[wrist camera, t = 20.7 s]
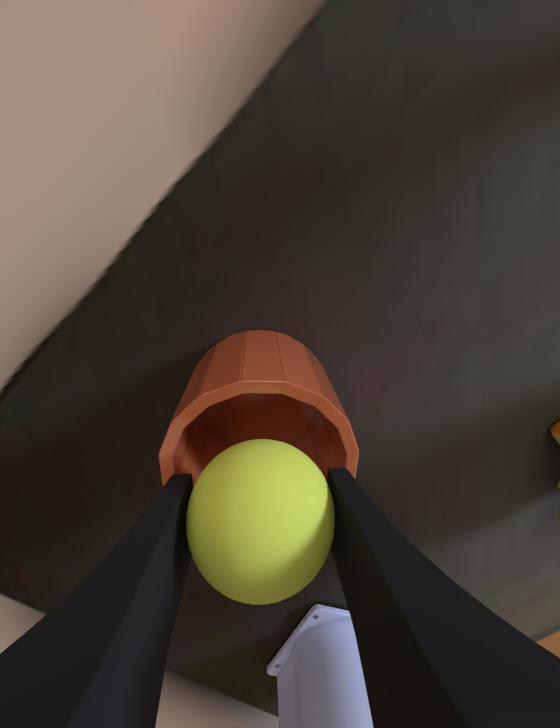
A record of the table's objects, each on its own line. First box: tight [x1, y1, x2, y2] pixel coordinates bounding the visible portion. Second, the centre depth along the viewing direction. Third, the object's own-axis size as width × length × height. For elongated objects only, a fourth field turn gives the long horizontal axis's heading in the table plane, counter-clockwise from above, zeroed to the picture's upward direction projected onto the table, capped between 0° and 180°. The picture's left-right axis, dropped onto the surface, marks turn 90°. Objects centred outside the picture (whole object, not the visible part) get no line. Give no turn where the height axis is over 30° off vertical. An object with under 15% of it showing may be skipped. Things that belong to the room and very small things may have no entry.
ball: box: [186, 439, 335, 605], centre depth 10 cm, size 5×5×5 cm
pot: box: [159, 330, 359, 487], centre depth 15 cm, size 7×7×6 cm
